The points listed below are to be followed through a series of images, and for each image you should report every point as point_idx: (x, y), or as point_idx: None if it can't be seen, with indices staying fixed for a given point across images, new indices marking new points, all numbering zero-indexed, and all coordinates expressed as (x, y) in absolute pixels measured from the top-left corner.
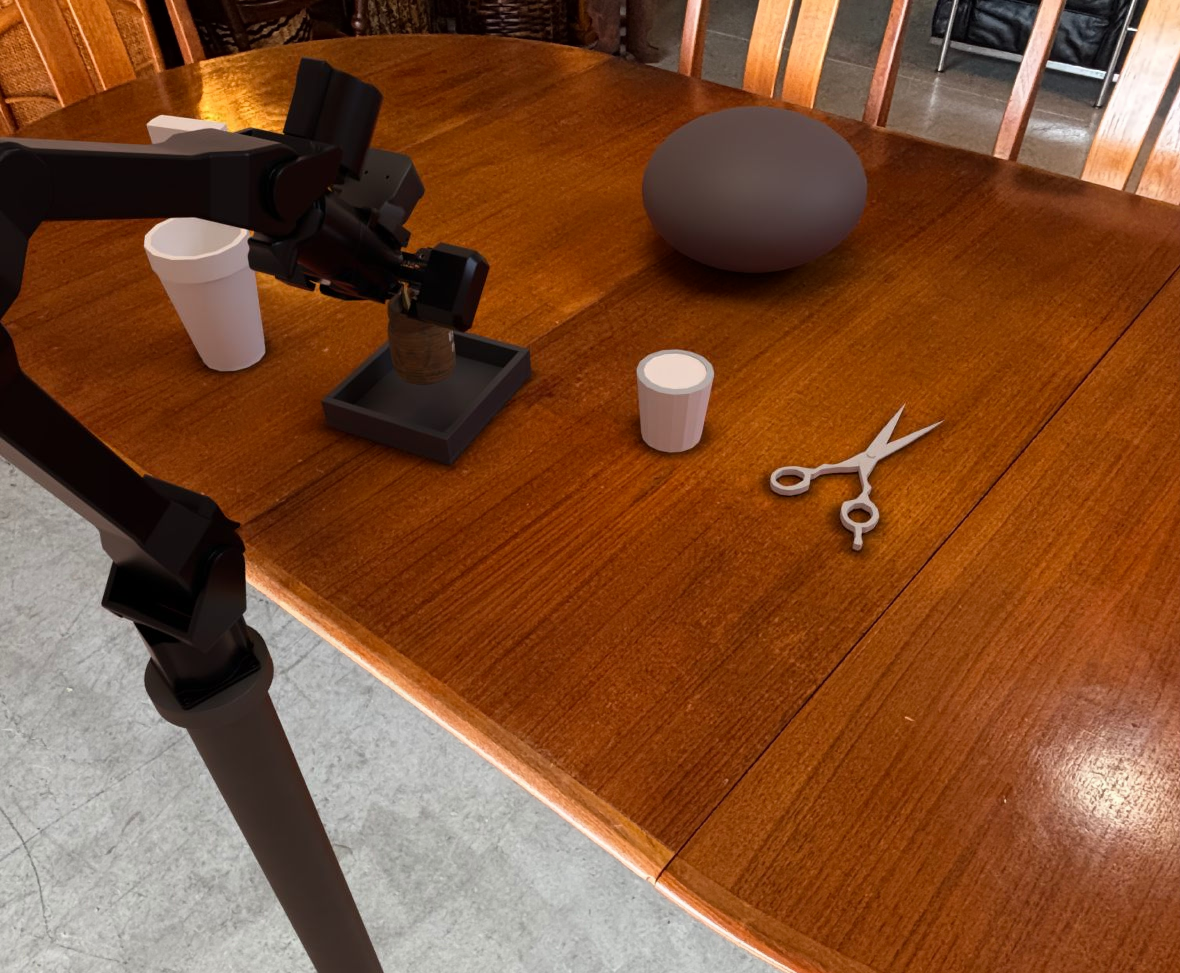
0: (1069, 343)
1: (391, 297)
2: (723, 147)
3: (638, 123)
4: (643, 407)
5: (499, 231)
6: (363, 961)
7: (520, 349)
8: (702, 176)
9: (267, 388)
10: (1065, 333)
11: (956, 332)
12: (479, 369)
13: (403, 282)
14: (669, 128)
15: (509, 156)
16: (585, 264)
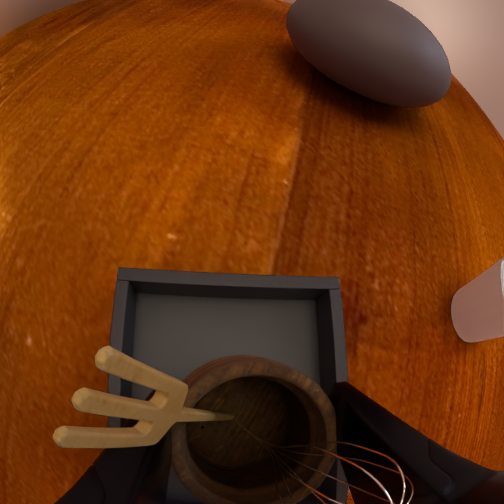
0: (500, 153)
1: (171, 454)
2: (393, 15)
3: (201, 5)
4: (492, 332)
5: (146, 81)
6: None
7: (328, 283)
8: (392, 34)
9: (16, 438)
10: (495, 146)
11: (479, 149)
12: (258, 317)
13: (189, 414)
14: (223, 6)
15: (125, 32)
16: (253, 97)
